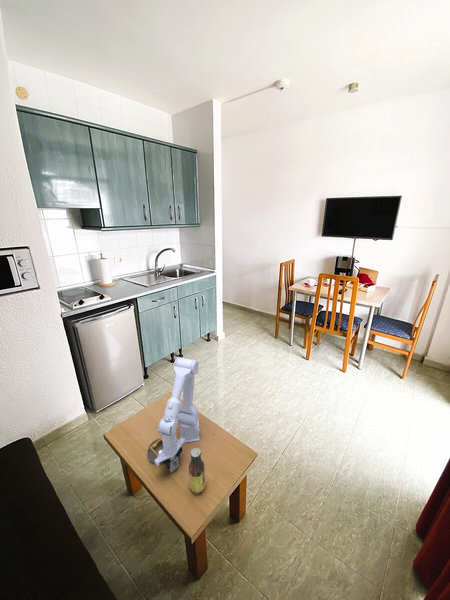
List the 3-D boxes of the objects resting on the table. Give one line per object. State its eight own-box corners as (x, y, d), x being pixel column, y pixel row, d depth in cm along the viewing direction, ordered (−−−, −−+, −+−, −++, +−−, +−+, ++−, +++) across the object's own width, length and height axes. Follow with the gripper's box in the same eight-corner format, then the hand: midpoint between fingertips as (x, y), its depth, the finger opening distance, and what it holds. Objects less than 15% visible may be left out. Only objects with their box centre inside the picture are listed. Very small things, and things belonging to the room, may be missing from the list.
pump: (173, 459, 111) (172, 449, 108) (180, 467, 107) (179, 457, 105) (165, 466, 108) (164, 455, 105) (173, 474, 105) (171, 463, 102)
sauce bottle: (207, 492, 99) (205, 458, 92) (191, 497, 97) (189, 463, 90) (203, 476, 105) (202, 443, 97) (189, 480, 103) (186, 447, 96)
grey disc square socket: (165, 437, 122) (164, 430, 121) (179, 450, 116) (178, 444, 114) (143, 453, 114) (142, 447, 113) (157, 470, 107) (156, 463, 106)
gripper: (177, 425, 110) (179, 447, 115) (149, 447, 100) (152, 470, 105) (187, 435, 106) (189, 456, 111) (159, 459, 96) (162, 481, 101)
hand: (172, 463), depth 108 cm, fingers closed on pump, 4 cm apart
